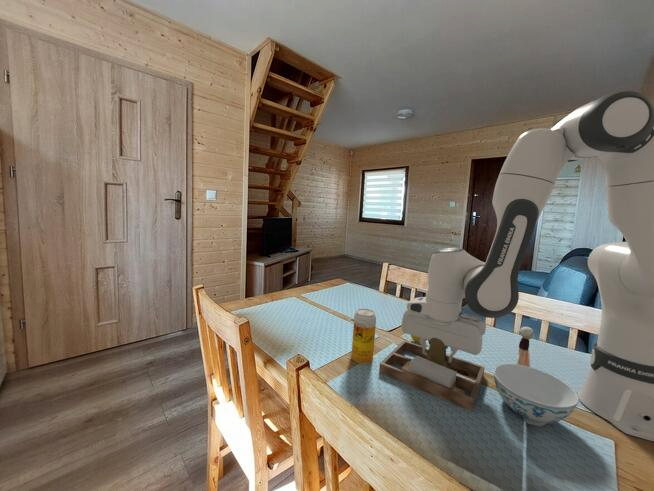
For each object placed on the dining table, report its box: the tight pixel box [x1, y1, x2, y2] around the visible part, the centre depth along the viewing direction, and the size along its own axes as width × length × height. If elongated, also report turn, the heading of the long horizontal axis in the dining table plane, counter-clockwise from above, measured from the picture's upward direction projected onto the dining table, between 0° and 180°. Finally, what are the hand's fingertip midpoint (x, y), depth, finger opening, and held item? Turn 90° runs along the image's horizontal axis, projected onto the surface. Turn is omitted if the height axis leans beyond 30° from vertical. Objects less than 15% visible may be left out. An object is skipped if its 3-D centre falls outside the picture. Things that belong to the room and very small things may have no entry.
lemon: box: [410, 335, 427, 345], centre depth 93 cm, size 6×6×8 cm
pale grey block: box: [401, 361, 456, 390], centre depth 71 cm, size 12×4×2 cm, turn 53°
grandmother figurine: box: [516, 326, 534, 367], centre depth 81 cm, size 8×4×13 cm, turn 155°
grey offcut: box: [409, 355, 458, 388], centre depth 70 cm, size 10×4×2 cm, turn 49°
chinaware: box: [493, 363, 580, 427], centre depth 63 cm, size 15×15×8 cm
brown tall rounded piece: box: [425, 338, 449, 368], centre depth 77 cm, size 6×6×11 cm
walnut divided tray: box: [378, 339, 486, 412], centre depth 74 cm, size 22×17×4 cm
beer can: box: [350, 308, 377, 364], centre depth 80 cm, size 6×6×15 cm
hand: (436, 357), depth 77 cm, fingers closed on brown tall rounded piece, 4 cm apart
